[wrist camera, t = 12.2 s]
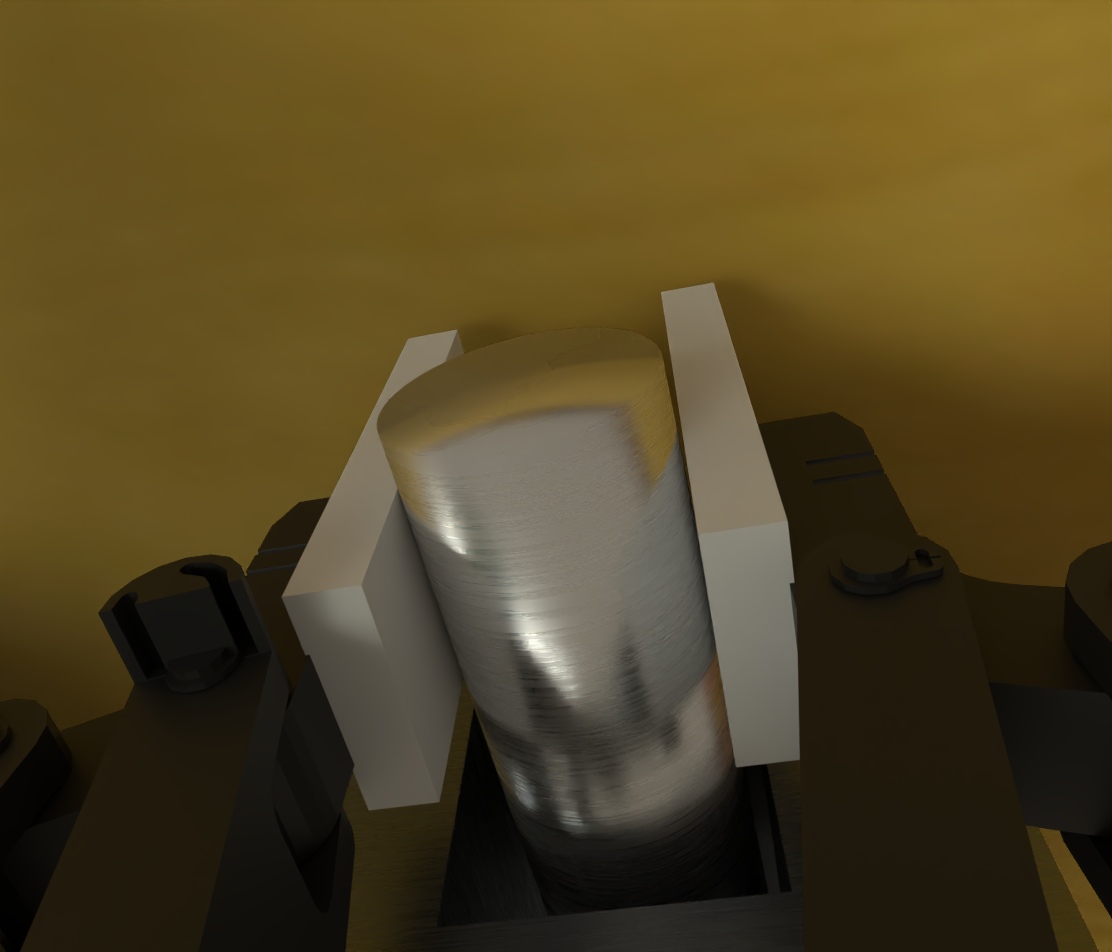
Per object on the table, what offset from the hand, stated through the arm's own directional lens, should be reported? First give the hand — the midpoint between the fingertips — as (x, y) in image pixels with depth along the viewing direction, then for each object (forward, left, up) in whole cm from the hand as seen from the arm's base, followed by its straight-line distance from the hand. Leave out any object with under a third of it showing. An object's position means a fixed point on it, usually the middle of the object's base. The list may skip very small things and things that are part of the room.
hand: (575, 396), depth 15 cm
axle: (0, -5, +4) cm, 7 cm away
